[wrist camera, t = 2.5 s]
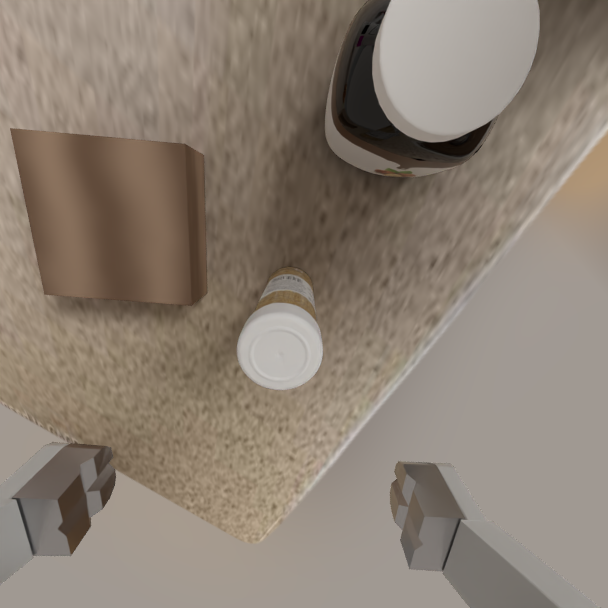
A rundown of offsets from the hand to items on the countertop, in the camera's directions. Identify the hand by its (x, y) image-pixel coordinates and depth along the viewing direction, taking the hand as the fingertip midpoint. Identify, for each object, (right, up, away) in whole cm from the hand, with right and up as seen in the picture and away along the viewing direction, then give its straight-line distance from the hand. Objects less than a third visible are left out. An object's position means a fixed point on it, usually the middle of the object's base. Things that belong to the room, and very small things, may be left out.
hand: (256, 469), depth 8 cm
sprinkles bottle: (0, +6, +19) cm, 20 cm away
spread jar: (+9, +21, +15) cm, 27 cm away
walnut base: (-13, +12, +17) cm, 25 cm away
